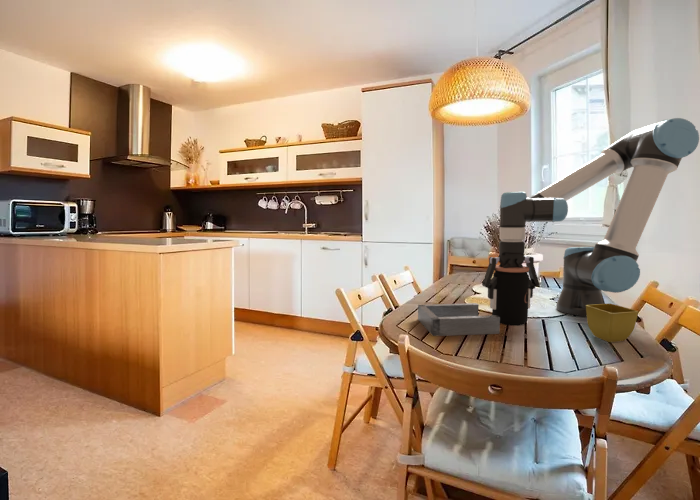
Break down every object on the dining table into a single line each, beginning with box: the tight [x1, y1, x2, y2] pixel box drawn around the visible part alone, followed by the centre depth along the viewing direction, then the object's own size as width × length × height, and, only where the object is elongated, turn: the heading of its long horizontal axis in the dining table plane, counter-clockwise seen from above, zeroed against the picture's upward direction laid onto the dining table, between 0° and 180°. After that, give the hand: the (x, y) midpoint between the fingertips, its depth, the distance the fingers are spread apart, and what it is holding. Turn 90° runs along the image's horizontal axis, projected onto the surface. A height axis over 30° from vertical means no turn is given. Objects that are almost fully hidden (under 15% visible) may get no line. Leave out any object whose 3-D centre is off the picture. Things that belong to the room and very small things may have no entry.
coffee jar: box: [491, 264, 530, 327], centre depth 119 cm, size 11×11×18 cm
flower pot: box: [586, 303, 639, 343], centre depth 102 cm, size 9×9×9 cm
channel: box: [417, 302, 501, 337], centre depth 115 cm, size 20×17×5 cm
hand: (509, 308), depth 120 cm, fingers closed on coffee jar, 11 cm apart
